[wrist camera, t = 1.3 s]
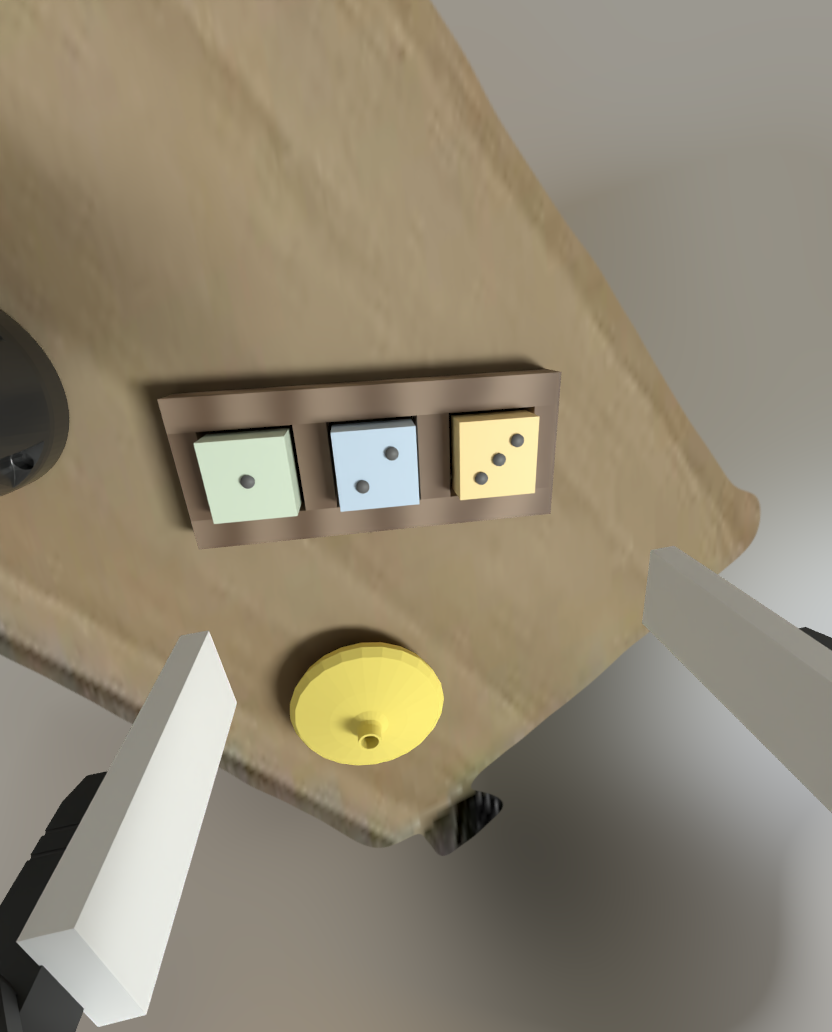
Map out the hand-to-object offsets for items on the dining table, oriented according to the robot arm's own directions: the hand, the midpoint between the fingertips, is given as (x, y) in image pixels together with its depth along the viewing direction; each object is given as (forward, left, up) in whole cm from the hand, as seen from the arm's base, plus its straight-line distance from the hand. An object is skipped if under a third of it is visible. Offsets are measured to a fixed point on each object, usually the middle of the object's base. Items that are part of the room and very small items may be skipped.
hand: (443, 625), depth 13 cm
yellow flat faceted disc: (-4, -28, -27) cm, 39 cm away
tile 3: (+9, -2, -24) cm, 26 cm away
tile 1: (-10, -2, -24) cm, 27 cm away
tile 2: (-1, -2, -24) cm, 24 cm away
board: (-1, -2, -26) cm, 26 cm away
